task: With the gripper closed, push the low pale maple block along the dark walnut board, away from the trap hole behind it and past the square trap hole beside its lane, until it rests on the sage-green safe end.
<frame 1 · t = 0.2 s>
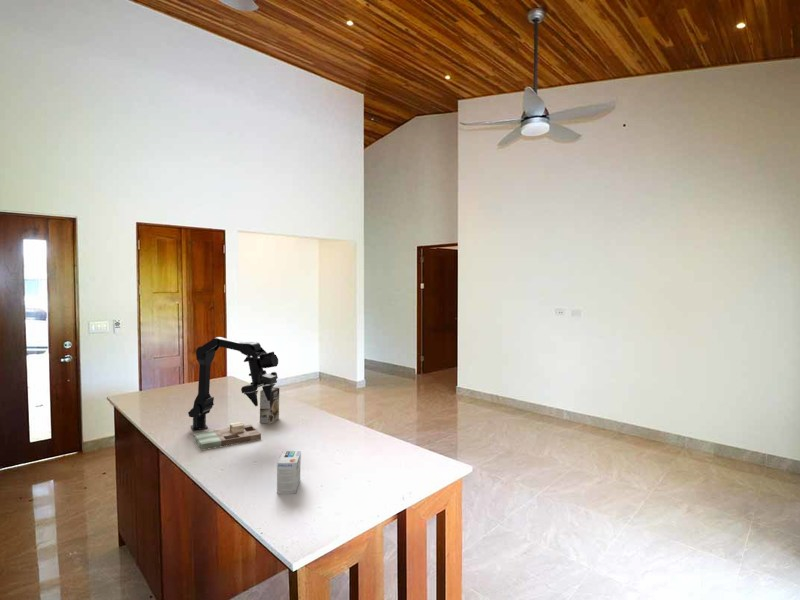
hand: (263, 403, 205), 15 cm above the kitchen island, tool pointing down, fingers open, 9 cm apart
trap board: (227, 439, 200), on the kitchen island
light bulb box: (289, 487, 157), on the kitchen island
block: (236, 430, 204), point 2 cm above the kitchen island, touching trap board
coffee box: (269, 420, 227), on the kitchen island
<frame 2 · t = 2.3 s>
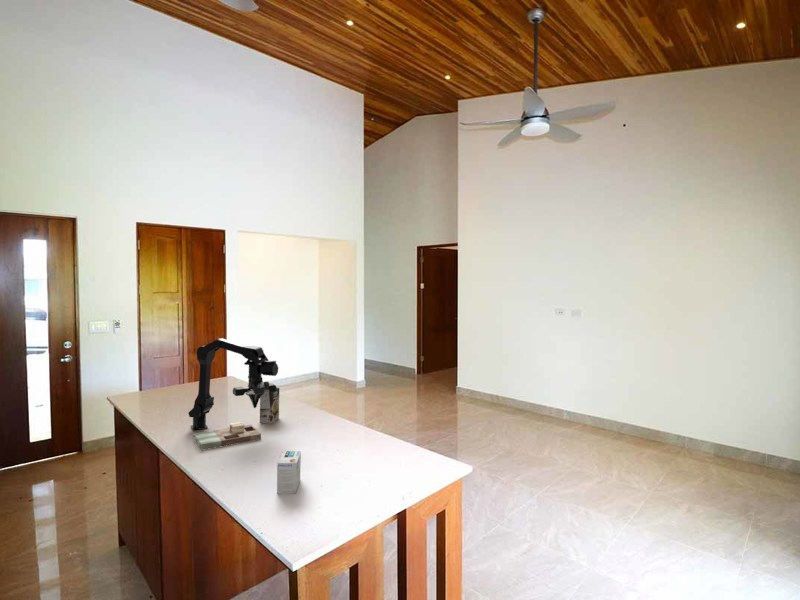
hand: (254, 407, 208), 12 cm above the kitchen island, tool pointing down, fingers closed
nothing on the kitchen island moved.
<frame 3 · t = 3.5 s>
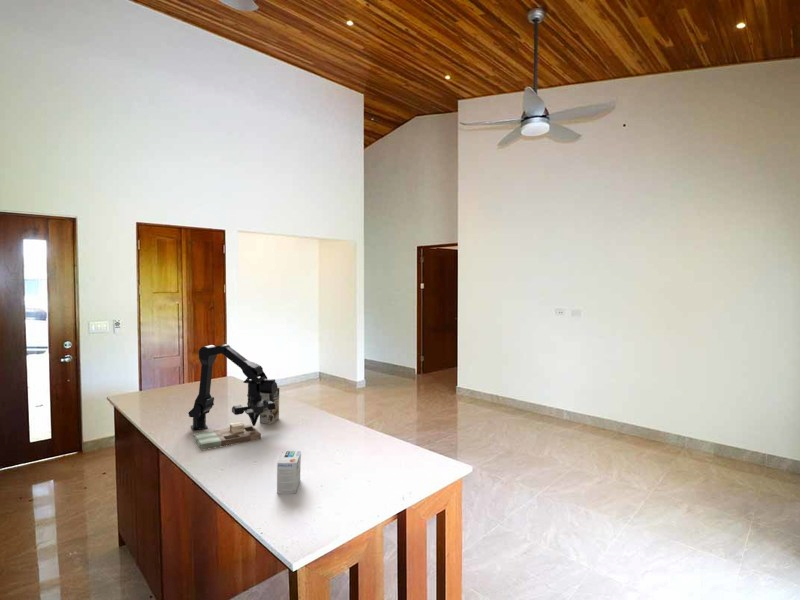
hand: (253, 425, 208), 3 cm above the kitchen island, tool pointing down, fingers closed
nothing on the kitchen island moved.
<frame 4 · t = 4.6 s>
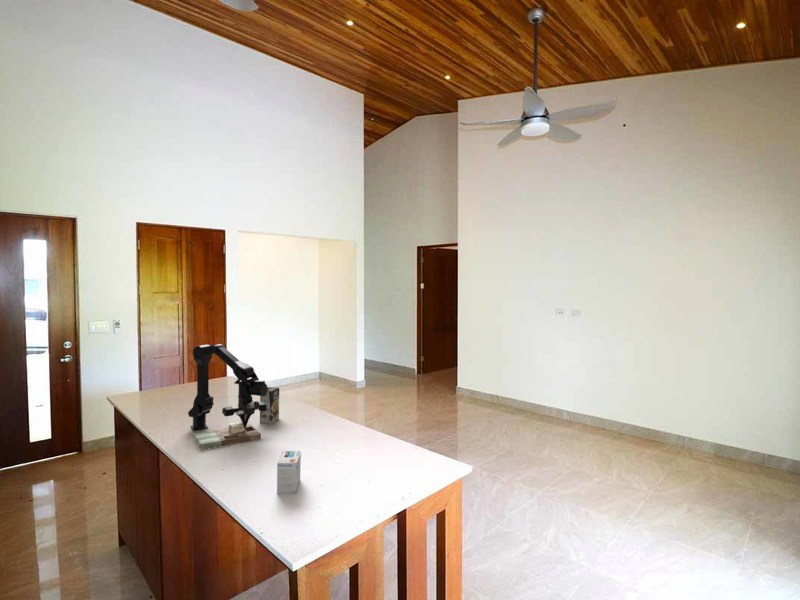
hand: (244, 427, 206), 3 cm above the kitchen island, tool pointing down, fingers closed
block: (236, 430, 204), point 3 cm above the kitchen island, touching gripper
everything else where it was.
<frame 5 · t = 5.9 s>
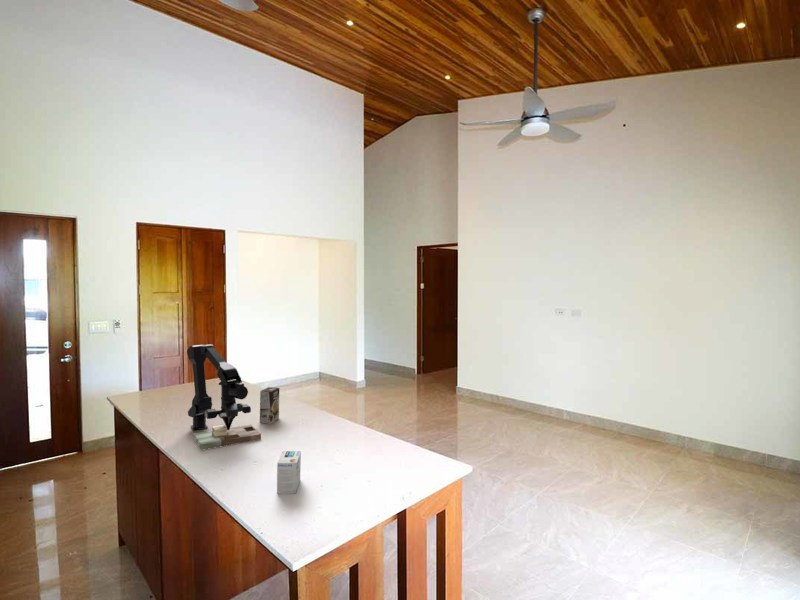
hand: (228, 429, 202), 4 cm above the kitchen island, tool pointing down, fingers closed
block: (219, 433, 199), point 3 cm above the kitchen island, touching gripper, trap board
everything else where it was.
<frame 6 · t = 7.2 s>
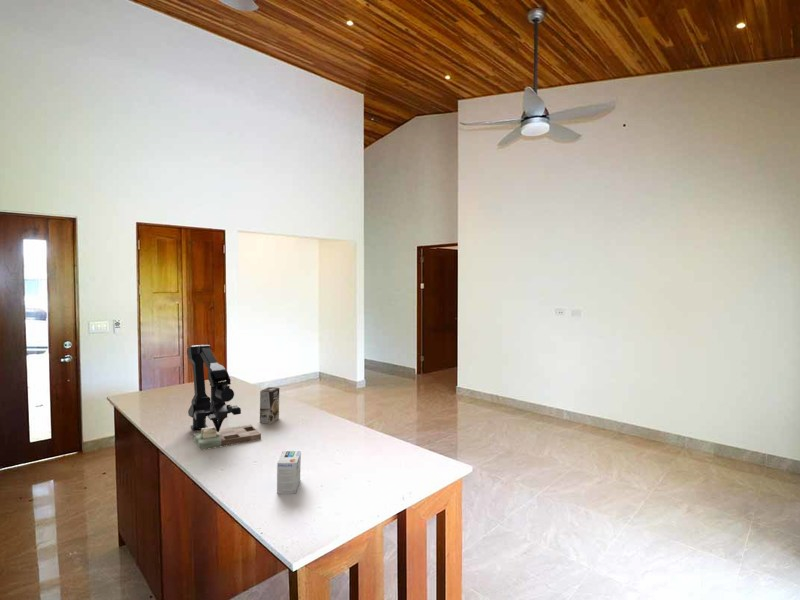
hand: (217, 431, 199), 4 cm above the kitchen island, tool pointing down, fingers closed
block: (208, 435, 197), point 2 cm above the kitchen island, touching gripper, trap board
everything else where it was.
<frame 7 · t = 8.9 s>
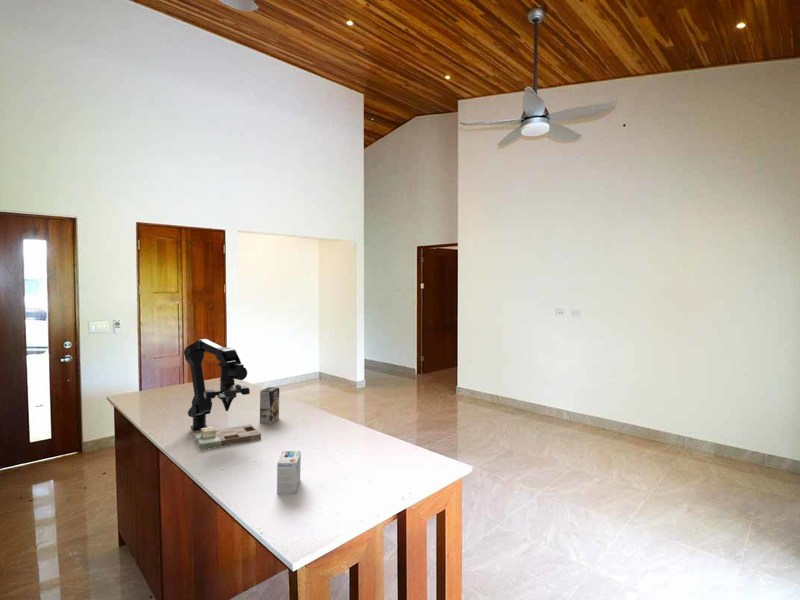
hand: (226, 410, 203), 12 cm above the kitchen island, tool pointing down, fingers closed
block: (208, 435, 197), point 2 cm above the kitchen island, touching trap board
everything else where it was.
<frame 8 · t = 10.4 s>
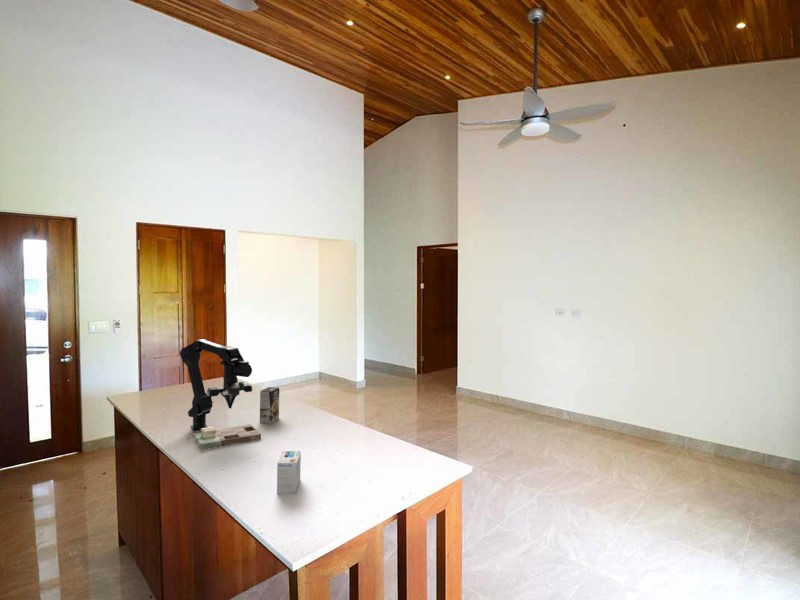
hand: (229, 408, 206), 12 cm above the kitchen island, tool pointing down, fingers closed
nothing on the kitchen island moved.
at the end: block inside the target area (1.3 cm from its centre), point 2.5 cm above the kitchen island; block tilted 0°; block moved 12.2 cm from its start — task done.
